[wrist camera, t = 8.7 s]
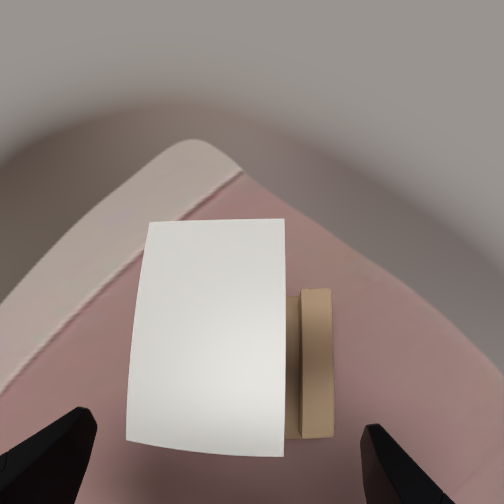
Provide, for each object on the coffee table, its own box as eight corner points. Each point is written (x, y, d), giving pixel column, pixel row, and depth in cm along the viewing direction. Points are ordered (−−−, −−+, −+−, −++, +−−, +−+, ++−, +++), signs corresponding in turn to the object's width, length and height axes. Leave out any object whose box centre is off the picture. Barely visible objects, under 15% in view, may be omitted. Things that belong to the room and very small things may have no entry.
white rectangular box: (279, 414, 17) (283, 456, 6) (215, 412, 17) (124, 439, 6) (281, 318, 19) (284, 219, 8) (219, 318, 20) (148, 222, 9)
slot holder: (323, 435, 17) (333, 446, 13) (176, 431, 17) (155, 438, 14) (321, 299, 20) (329, 279, 17) (183, 299, 21) (165, 281, 18)
